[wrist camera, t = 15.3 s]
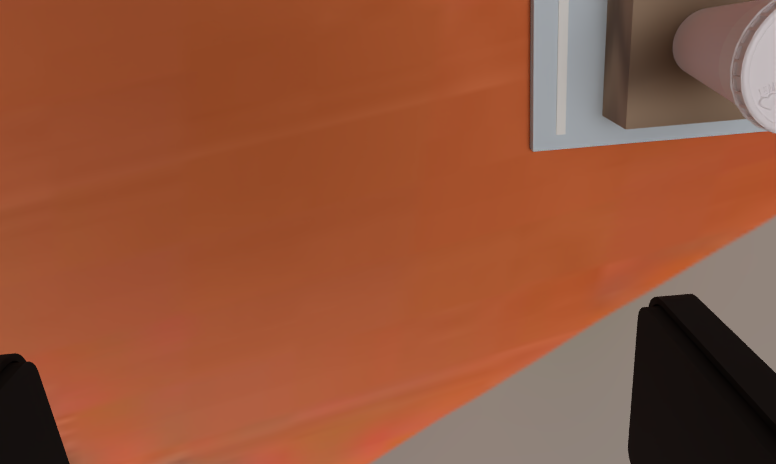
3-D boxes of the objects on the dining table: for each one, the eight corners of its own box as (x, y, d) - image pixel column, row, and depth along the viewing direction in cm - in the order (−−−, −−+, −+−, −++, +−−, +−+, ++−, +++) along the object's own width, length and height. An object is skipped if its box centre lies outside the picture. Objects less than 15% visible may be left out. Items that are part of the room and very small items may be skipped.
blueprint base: (530, -64, 38) (553, -69, 34) (830, -90, 38) (892, -99, 34) (530, 148, 43) (549, 168, 39) (796, 125, 43) (846, 142, 39)
